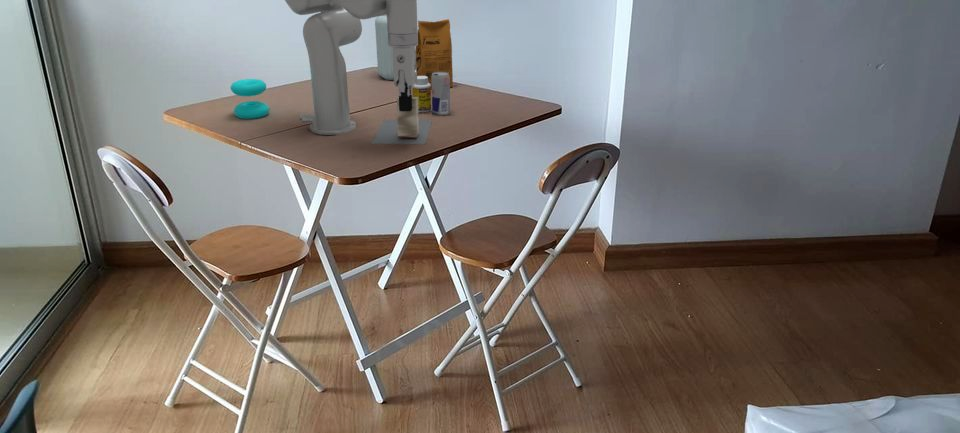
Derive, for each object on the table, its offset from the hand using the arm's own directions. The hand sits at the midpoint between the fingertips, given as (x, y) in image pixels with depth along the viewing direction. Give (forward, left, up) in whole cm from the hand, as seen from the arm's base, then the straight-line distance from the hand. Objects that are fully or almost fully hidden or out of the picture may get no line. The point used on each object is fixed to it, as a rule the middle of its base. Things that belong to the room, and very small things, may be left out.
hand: (405, 110), depth 192 cm
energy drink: (+7, +27, -9) cm, 29 cm away
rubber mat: (-2, +8, -9) cm, 12 cm away
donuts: (-49, +24, -9) cm, 55 cm away
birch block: (0, +3, -8) cm, 8 cm away
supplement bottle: (+1, +30, -9) cm, 31 cm away
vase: (-13, +72, -9) cm, 74 cm away
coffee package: (+2, +60, -9) cm, 61 cm away
